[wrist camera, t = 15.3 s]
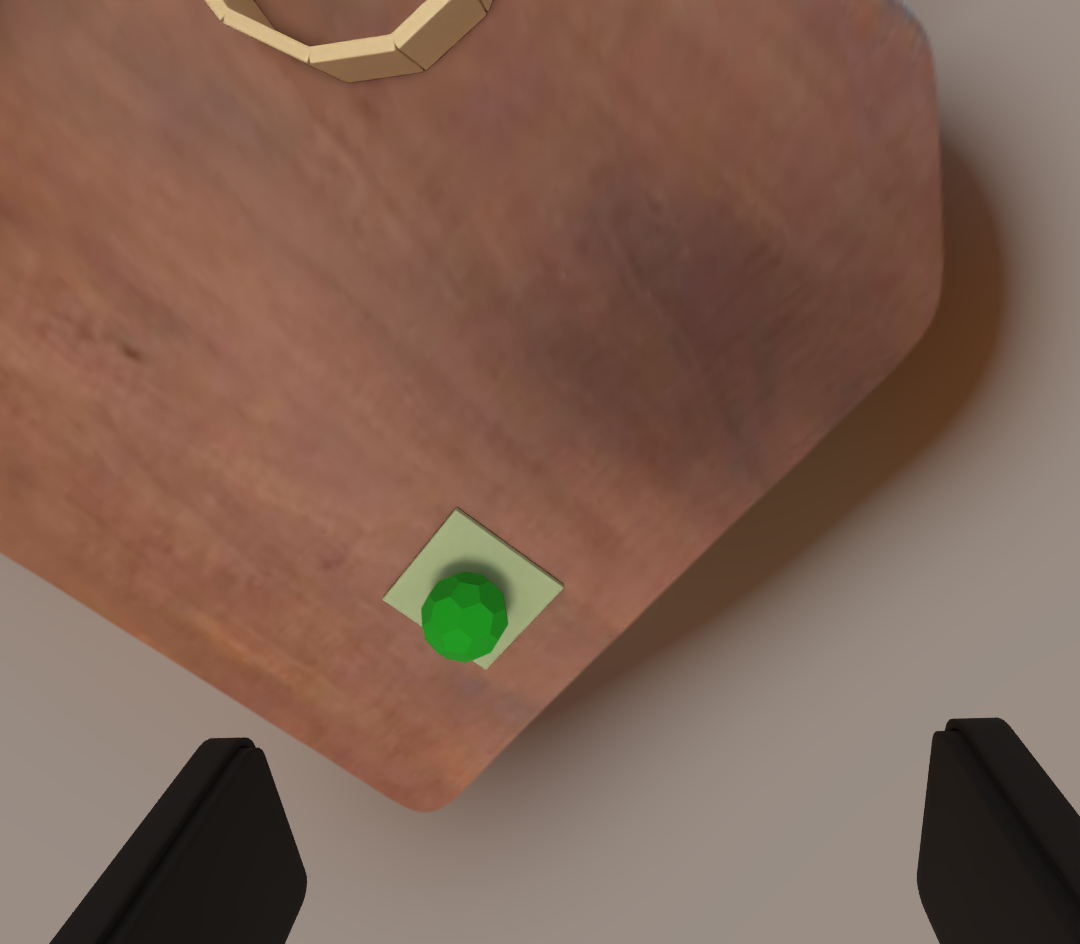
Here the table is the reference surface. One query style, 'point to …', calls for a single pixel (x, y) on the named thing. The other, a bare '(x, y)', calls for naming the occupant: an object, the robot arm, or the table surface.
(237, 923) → the robot arm
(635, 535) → the table surface
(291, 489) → the table surface
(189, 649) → the table surface
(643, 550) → the table surface
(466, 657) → the polyhedron
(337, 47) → the hollow cylinder
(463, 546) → the mat
